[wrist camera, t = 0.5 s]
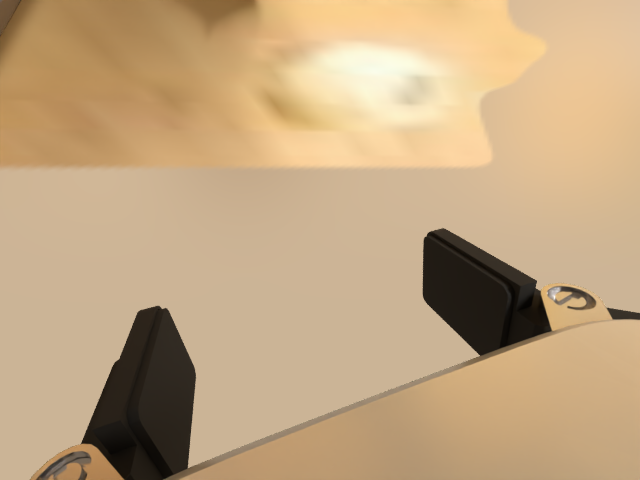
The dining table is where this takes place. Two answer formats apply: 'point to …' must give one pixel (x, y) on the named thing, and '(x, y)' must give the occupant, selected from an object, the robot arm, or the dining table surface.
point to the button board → (7, 12)
